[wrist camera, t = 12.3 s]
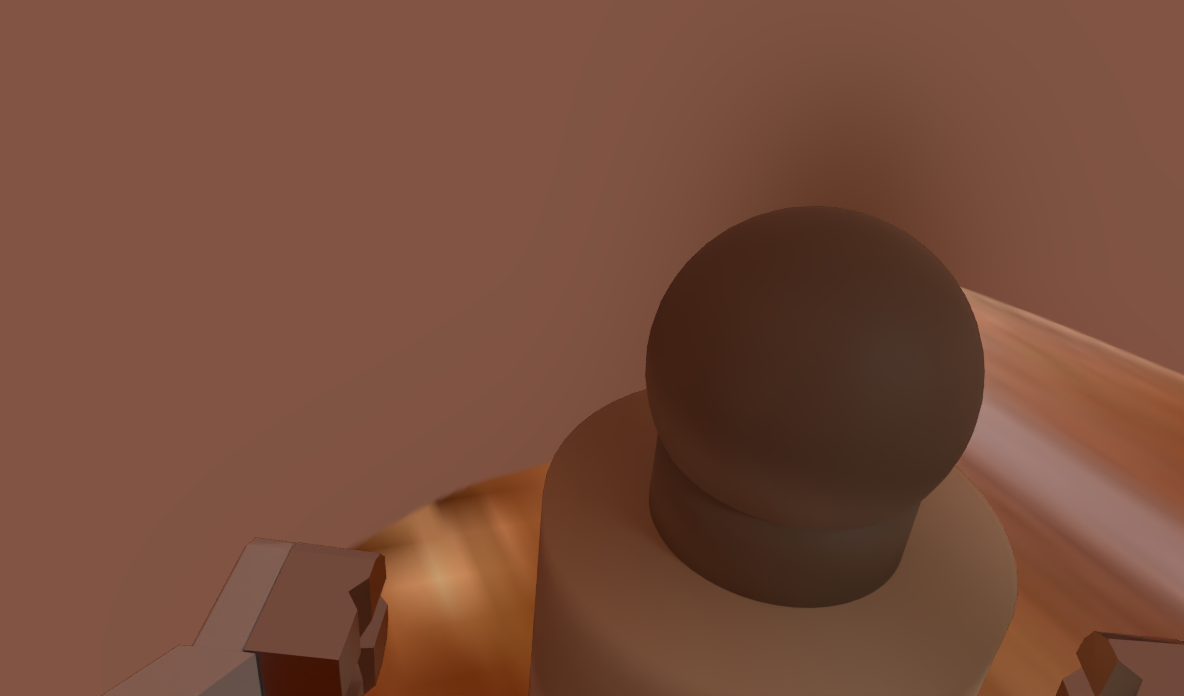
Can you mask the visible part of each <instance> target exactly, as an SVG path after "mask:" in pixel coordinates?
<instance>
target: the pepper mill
mask: <svg viewBox="0 0 1184 696" xmlns="http://www.w3.org/2000/svg"><path fill="white" fill-rule="evenodd" d="M984 374H985V370H984V353H983V348H982V343H981V339H980V334H979V330H978V325H977V322H976V319H975V317H974V314H973V312H972V309H971V307H970V304H969V302H968V300H967V298H966V296H965V294H964V293H963V291H962V289H961V288H960V286H959V285H958V283H957V281H956V280H955V278H954V277H953V276H952V274H951V273H950V271H949V270H948V269H947V268H946V267H945V266H944V265H943V264H942V262H941V261H940V260H939V259H938V258H937V257H936V256H935V255H934V254H933V253H932V252H931V251H930V250H929V249H927V248H926V247H925V246H924V245H922V244H921V243H920V242H919V241H917V240H916V239H915V238H913V237H912V236H910V235H909V234H908V233H906V232H905V231H903V230H901V229H899V228H897V227H895V226H893V225H891V224H889V223H887V222H885V221H883V220H881V219H878V218H876V217H873V216H870V215H867V214H864V213H861V212H857V211H853V210H848V209H843V208H836V207H825V206H809V207H794V208H785V209H780V210H776V211H773V212H769V213H765V214H762V215H759V216H755V217H753V218H750V219H748V220H746V221H744V222H742V223H740V224H737V225H735V226H733V227H731V228H729V229H728V230H726V231H724V232H723V233H721V234H720V235H719V236H717V237H716V238H714V239H713V240H711V241H710V242H708V243H707V244H706V245H705V246H704V247H703V248H702V249H701V250H700V251H698V253H696V254H695V255H694V256H693V257H692V258H691V259H690V260H689V261H688V262H687V263H686V264H685V266H684V267H683V268H682V269H681V271H680V272H679V273H678V274H677V276H676V277H675V279H674V280H673V282H672V283H671V285H670V286H669V288H668V290H667V292H666V293H665V295H664V297H663V299H662V300H661V303H660V305H659V308H658V311H657V313H656V316H655V319H654V321H653V325H652V327H651V331H650V336H649V340H648V345H647V356H646V373H645V377H646V386H647V389H646V390H643V391H639V392H636V393H633V394H630V395H628V396H626V397H623V398H621V399H618V400H616V401H614V402H612V403H610V404H608V405H607V406H605V407H603V408H601V409H600V410H598V411H596V412H594V413H593V414H592V415H591V416H589V417H588V418H587V419H585V420H584V421H583V422H582V423H581V424H579V425H578V426H577V427H576V428H575V429H574V430H573V431H572V432H571V433H570V435H569V436H568V437H567V438H566V439H565V440H564V442H563V443H562V445H561V446H560V448H559V449H558V451H557V452H556V454H555V455H554V458H553V460H552V462H551V465H550V467H549V469H548V472H547V475H546V480H545V485H544V490H543V499H542V513H541V527H540V541H539V555H538V570H537V584H536V598H535V612H534V626H533V640H532V655H531V669H530V683H529V696H977V695H978V693H979V691H980V689H981V686H982V684H983V682H984V680H985V678H986V675H987V673H988V671H989V669H990V667H991V664H992V662H993V660H994V658H995V655H996V653H997V651H998V649H999V647H1000V644H1001V642H1002V640H1003V638H1004V635H1005V633H1006V631H1007V629H1008V627H1009V624H1010V622H1011V620H1012V618H1013V615H1014V610H1015V605H1016V600H1017V595H1018V582H1017V568H1016V563H1015V558H1014V553H1013V550H1012V547H1011V544H1010V542H1009V539H1008V537H1007V534H1006V532H1005V529H1004V527H1003V526H1002V524H1001V522H1000V520H999V519H998V517H997V515H996V513H995V511H994V510H993V508H992V507H991V506H990V504H989V503H988V502H987V500H986V499H985V498H984V496H983V495H982V494H981V492H980V491H979V490H978V488H977V487H976V486H975V485H974V484H973V483H972V482H971V481H970V480H969V479H968V478H967V477H966V476H965V475H964V474H963V472H962V471H960V470H959V469H958V468H957V467H956V466H955V464H956V463H957V461H958V460H959V458H960V457H961V455H962V454H963V452H964V451H965V449H966V447H967V445H968V442H969V440H970V438H971V436H972V434H973V431H974V428H975V425H976V422H977V419H978V415H979V411H980V408H981V404H982V398H983V389H984Z"/></svg>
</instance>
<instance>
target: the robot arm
mask: <svg viewBox="0 0 1184 696" xmlns="http://www.w3.org/2000/svg"><path fill="white" fill-rule="evenodd" d="M385 580H386V567H385V556H383V555H382V554H381V553H373V552H366V551H359V550H351V549H344V548H336V547H329V546H322V545H314V544H307V543H299V542H298V543H293V542H286V541H278V540H271V539H264V538H256V537H255V538H254V539H253V540H252V541H251V542H250V543H249V544H248V545H247V546H246V547H245V548H244V550H243V552H242V553H241V555H240V557H239V559H238V561H237V563H236V564H235V566H234V568H233V570H232V572H231V574H230V576H229V578H228V580H227V581H226V583H225V585H224V587H223V589H222V591H221V593H220V594H219V596H218V598H217V600H216V602H215V604H214V606H213V607H212V609H211V611H210V613H209V615H208V617H207V619H206V621H205V623H204V624H203V626H202V628H201V630H200V632H199V634H198V636H197V637H196V639H195V641H194V643H193V645H192V646H187V645H178V646H177V647H175V648H173V649H172V650H170V651H169V652H167V653H166V654H164V655H163V656H161V657H159V658H158V659H156V660H155V661H153V662H152V663H150V664H149V665H147V666H146V667H144V668H143V669H141V670H140V671H138V672H137V673H135V674H134V675H132V676H130V677H129V678H128V679H126V680H124V681H123V682H121V683H120V684H118V685H117V686H115V687H114V688H112V689H111V690H109V691H108V692H106V693H104V694H103V695H101V696H364V694H365V693H366V692H368V691H369V690H370V689H371V688H373V687H374V686H375V685H376V682H377V679H378V675H379V672H380V669H381V665H382V661H383V656H384V651H385V645H386V640H387V628H388V604H387V603H386V602H385V601H384V600H383V599H382V598H381V597H380V595H381V592H382V589H383V586H384V583H385ZM1076 654H1077V656H1078V659H1079V661H1080V663H1081V666H1082V668H1081V669H1080V670H1078V671H1076V672H1075V673H1073V674H1071V675H1069V676H1068V677H1066V678H1064V679H1063V680H1062V682H1061V685H1060V687H1059V689H1058V691H1057V694H1056V696H1184V641H1180V640H1177V639H1168V638H1158V637H1148V636H1138V635H1128V634H1118V633H1108V632H1098V631H1094V632H1092V633H1091V634H1090V635H1088V636H1087V637H1085V638H1084V640H1083V641H1082V643H1081V645H1080V647H1079V649H1078V651H1077V653H1076Z"/></svg>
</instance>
